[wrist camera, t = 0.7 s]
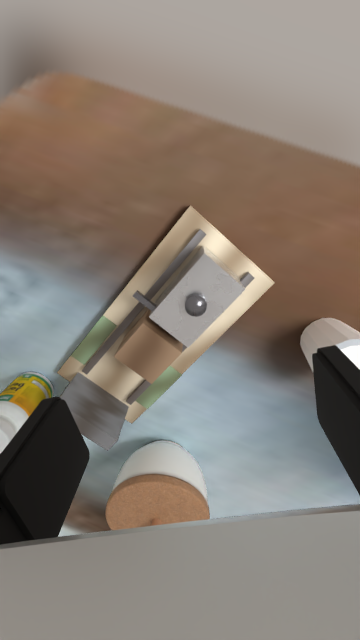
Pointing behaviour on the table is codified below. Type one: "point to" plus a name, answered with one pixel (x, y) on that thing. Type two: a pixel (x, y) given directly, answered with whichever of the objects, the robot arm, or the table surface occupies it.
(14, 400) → the supplement bottle
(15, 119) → the table surface
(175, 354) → the walnut block
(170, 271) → the gauge bed
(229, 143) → the table surface
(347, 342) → the shot glass
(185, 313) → the knobbed grey slider
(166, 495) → the lidded bowl
